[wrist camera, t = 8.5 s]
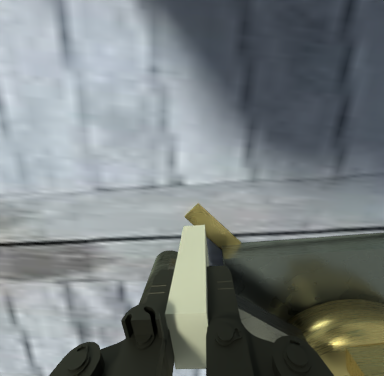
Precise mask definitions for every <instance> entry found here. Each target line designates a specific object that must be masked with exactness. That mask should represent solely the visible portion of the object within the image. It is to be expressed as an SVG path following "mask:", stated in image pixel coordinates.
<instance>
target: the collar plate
mask: <svg viewBox="0 0 384 376" xmlns="http://www.w3.org/2000/svg"><path fill="white" fill-rule="evenodd" d="M185 218H186V219H187V220H188V221H190V222H191V223H192V224H193V225H194V226H195V225H205V231H206V236H207V237H208V238H209V239H210V240H211V241H212V242H213V243H214V244H216V245H217V246H218V247H219V248H220V249H221V250H222V256H223V266H224V265H226V267H227V268H228V269H229V270H230V272H231V275H232V280H233V285H234V290H235V293H236V294H238V295H240V296H241V297H243V298H245V299H247V300H249V301H250V302H252V303H254V304H256V305H258V306H259V307H261V308H263V309H265V310H267V311H268V312H270V313H272V314H274V315H276V316H277V317H279V318H281V319H283V320H285V321H286V322H287V321H288V320H289V319H290V318H292V317H293V316H295V315H296V314H298V313H300V312H302V311H304V310H306V309H308V308H310V307H313V306H315V305H318V304H322V303H325V302H330V301H335V300H344V299H362V300H370V301H375V302H379V303H382V304H384V233H373V234H359V235H345V236H331V237H317V238H303V239H289V240H275V241H261V242H247V243H241V242H240V241H239V240H238V239H237V238H236V237H235V236H234V235H232V234H231V233H230V232H229V231H228V230H227V229H226V228H225V227H224V226H223V225H222V224H220V223H219V222H218V221H217V220H216V219H215V218H214V217H213V216H212V215H211V214H210V213H208V212H207V211H206V210H205V209H204V208H203V207H202V206H201V205H200V204H199V203H198V204H197V205H196V206H195V207H194V208H193V209H192V210H190V211H189V212H188V213H187V214H186V215H185Z"/></svg>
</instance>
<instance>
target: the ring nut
mask: <svg viewBox="0 0 384 376" xmlns="http://www.w3.org/2000/svg"><path fill="white" fill-rule="evenodd" d="M177 255H178V252H175V251H164V252H162V253H160V254H159V255H158V256H157V258H156V260H155V263H154V265H153V268H152V271H151V273H150V276H149V279H148V281H147V284H146V287H145V289H144V292H143V295H142V297H141V300H140V303H139V304H144V303H146V301H147V298H148V295H149V292H150V289H151V287H152V283H153V280H154V277H155V276H156V275H157V274H158V272H159V271H160V270H169V269H175V265H176V260H177ZM235 295H236V299H237V304H238V309H239V314H240V319H241V321H242V324H243V325H244V327H245V328H246V329H247V330H248V331H249V332H250V333H251V334H253V335H254V336H256V337H258V338H261V339H264V340H267V341H270V342H275V340H276V339H278V338H280V337H281V336H289V335H290V336H294V337H297V338H300V339H302V340H303V341H305V342H306V343H308V344H309V345H310V346H311V347H312V348H313V349H314V350H315V351H316V352H317V353H318V355H319V356H320V357H321V359H322V360H323V361H324V363H325V364H326V365H327V367H328V368H329V369H330V371H331V372H332V373H333V375H334V376H384V304H382V303H379V302H375V301H370V300H362V299H344V300H335V301H330V302H325V303H322V304H318V305H315V306H313V307H310V308H308V309H306V310H304V311H302V312H300V313H298V314H296V315H295V316H293V317H292V318H290V319H289V320H288V321H287V322H286V321H285V320H283V319H281V318H279V317H277V316H276V315H274V314H272V313H270V312H268V311H267V310H265V309H263V308H261V307H259V306H258V305H256V304H254V303H252V302H250V301H249V300H247V299H245V298H243V297H241V296H240V295H238V294H236V293H235Z"/></svg>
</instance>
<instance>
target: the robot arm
mask: <svg viewBox="0 0 384 376" xmlns="http://www.w3.org/2000/svg"><path fill="white" fill-rule="evenodd" d="M121 322H122V325H123V329H124V333H125V336H126V339H125V340H123V341H121V342H119V343H117V344H114V345H112V346H109V347H106V348H104V349H101V350H100V347H99V345H98V344H96V343H95V342H86V343H83V344H81V345H79V346H77V347H76V348H74V349H73V350H71V351H70V352H69V353H68V354H67V355H66V356H65V357H64V358H63V359H62V361H61V362H60V363H59V364H58V365H57V367H56V368H55V369H54V370H53V372H52V373H51V374H50V375H49V376H172V373H173V366H174V363H175V368H176V369H206V376H334V375H333V373H332V372H331V371H330V369H329V368H328V367H327V365H326V364H325V363H324V361H323V360H322V359H321V357H320V356H319V355H318V353H317V352H316V351H315V350H314V349H313V348H312V347H311V346H310V345H309V344H308V343H306V342H305V341H303V340H302V339H300V338H297V337H294V336H290V335H289V336H281V337H280V338H278V339H276V340H275V342H270V341H267V340H264V339H261V338H258V337H256V336H254V335H253V334H251V333H250V332H249V331H248V330H247V329H246V328H245V327H244V325H243V324H242V321H241V319H240V314H239V309H238V304H237V299H236V295H235V290H234V285H233V280H232V275H231V272H230V270H229V269H228V268H227V267H226V265H224V266H209V259H208V250H207V240H206V231H205V225H195V226H184V227H183V232H182V236H181V241H180V246H179V251H178V255H177V260H176V265H175V269H169V270H160V271H159V272H158V274H157V275H156V276H155V277H154V280H153V283H152V287H151V289H150V292H149V295H148V298H147V301H146V303H144V304H139V305H137V306H135V307H133V308H131V309H130V310H129V311H128V312H127V313H126V314H125V316H124V317H123V319H122V320H121Z"/></svg>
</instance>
